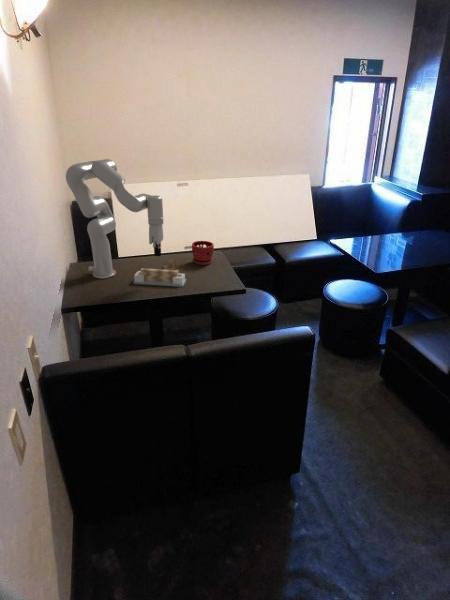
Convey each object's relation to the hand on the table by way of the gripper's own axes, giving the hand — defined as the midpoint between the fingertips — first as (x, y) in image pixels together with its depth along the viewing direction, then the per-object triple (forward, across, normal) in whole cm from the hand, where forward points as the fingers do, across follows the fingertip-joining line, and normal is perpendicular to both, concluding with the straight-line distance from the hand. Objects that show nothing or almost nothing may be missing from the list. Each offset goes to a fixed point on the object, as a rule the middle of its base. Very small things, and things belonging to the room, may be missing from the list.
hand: (157, 255), depth 213 cm
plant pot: (+15, -34, +17) cm, 41 cm away
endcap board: (+15, 0, 0) cm, 15 cm away
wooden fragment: (+16, -24, 0) cm, 29 cm away
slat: (+14, 0, 0) cm, 14 cm away
